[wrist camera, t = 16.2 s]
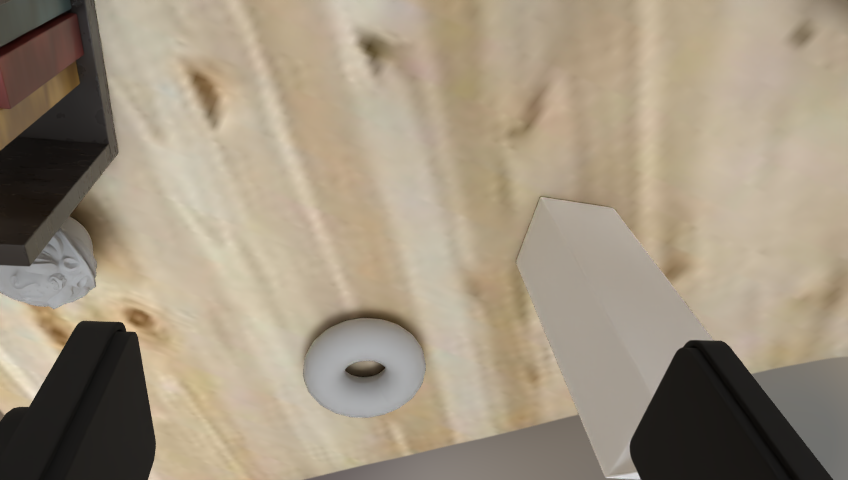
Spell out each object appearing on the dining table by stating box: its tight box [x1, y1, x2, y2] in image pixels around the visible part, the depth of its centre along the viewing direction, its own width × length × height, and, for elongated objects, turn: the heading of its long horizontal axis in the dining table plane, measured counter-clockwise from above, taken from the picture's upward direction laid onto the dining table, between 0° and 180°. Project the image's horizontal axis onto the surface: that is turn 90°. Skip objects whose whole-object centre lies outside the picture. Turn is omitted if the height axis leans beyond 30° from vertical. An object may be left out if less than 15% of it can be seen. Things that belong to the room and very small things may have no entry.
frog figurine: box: [0, 217, 97, 309], centre depth 36 cm, size 6×7×7 cm
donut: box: [303, 318, 426, 418], centre depth 47 cm, size 10×4×10 cm
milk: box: [516, 197, 714, 479], centre depth 35 cm, size 6×6×22 cm
